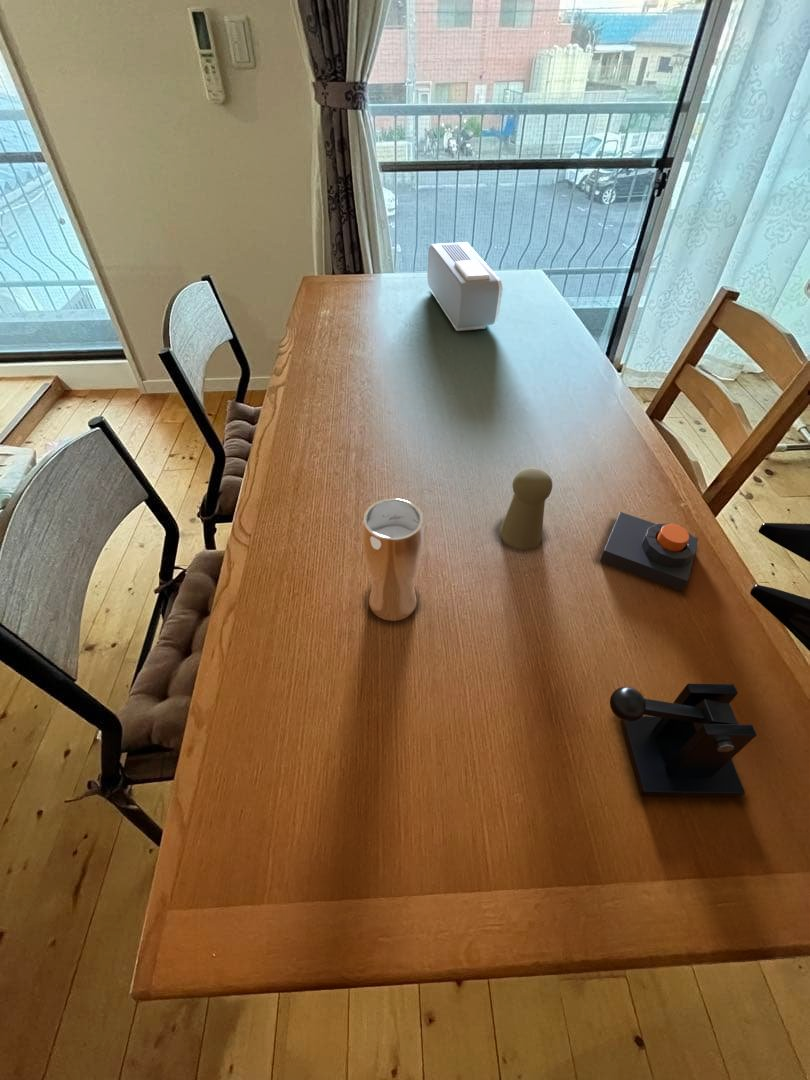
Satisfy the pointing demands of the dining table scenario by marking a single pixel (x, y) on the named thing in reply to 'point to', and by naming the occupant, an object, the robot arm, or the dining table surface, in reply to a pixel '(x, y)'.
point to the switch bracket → (687, 750)
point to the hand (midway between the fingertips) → (756, 556)
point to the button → (673, 537)
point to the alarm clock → (464, 285)
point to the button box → (648, 552)
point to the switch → (669, 709)
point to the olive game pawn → (526, 509)
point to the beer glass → (393, 556)
